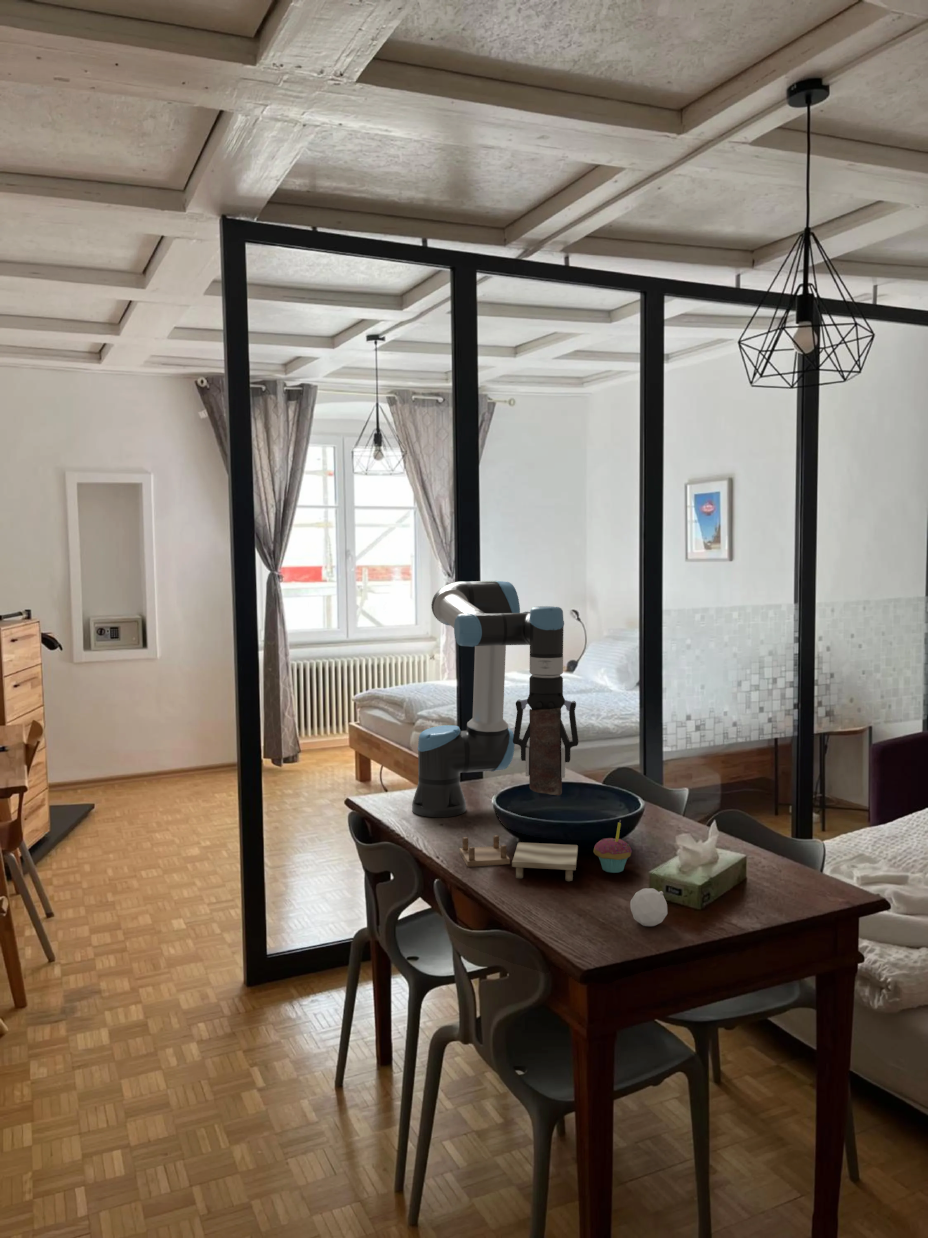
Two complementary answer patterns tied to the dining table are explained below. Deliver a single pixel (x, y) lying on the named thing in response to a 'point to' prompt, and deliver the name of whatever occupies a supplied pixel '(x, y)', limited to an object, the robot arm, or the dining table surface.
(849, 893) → the dining table surface
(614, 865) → the cupcake
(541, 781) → the brown wooden log
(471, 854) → the upturned stool decor
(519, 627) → the robot arm
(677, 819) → the dining table surface
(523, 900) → the dining table surface
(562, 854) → the small wooden stool
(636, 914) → the ornament
